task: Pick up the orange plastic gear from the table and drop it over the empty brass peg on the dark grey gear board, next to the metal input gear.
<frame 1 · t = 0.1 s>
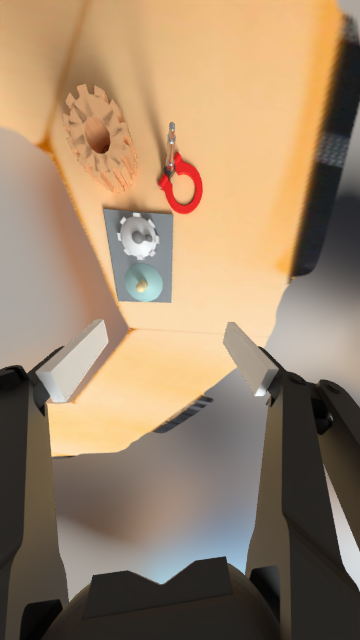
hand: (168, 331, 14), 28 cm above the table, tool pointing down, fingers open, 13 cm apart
tow hook: (182, 190, 30), on the table
gear board: (143, 262, 36), on the table
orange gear: (111, 159, 27), on the table
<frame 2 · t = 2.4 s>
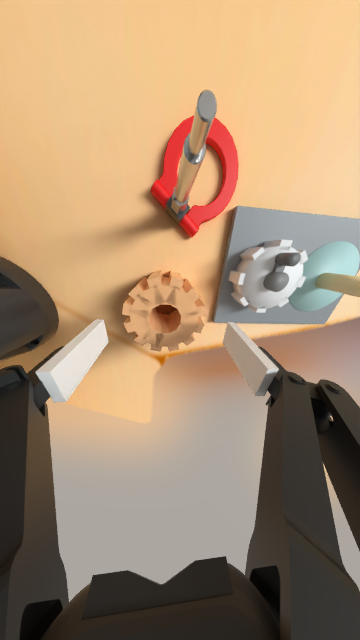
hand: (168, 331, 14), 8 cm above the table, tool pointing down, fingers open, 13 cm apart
tow hook: (196, 183, 15), on the table
gear board: (286, 277, 21), on the table
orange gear: (165, 303, 22), on the table
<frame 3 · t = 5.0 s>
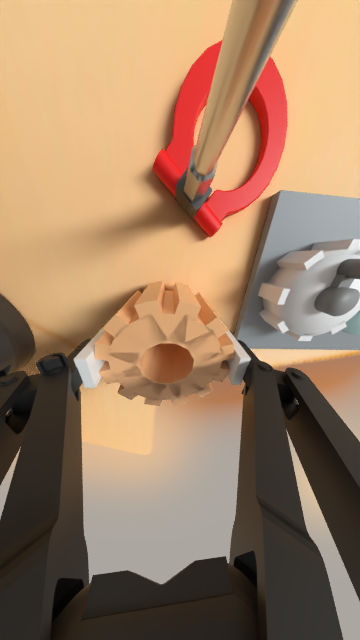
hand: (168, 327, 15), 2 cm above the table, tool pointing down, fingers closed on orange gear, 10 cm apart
tow hook: (220, 158, 11), on the table
gear board: (334, 291, 16), on the table
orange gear: (168, 326, 15), point 1 cm above the table, touching gripper
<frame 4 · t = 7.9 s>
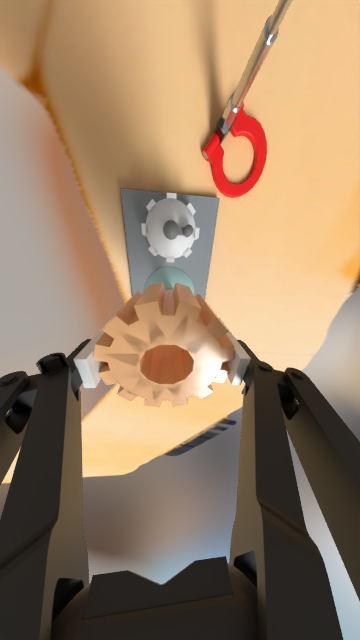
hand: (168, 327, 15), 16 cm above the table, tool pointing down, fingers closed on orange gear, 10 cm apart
tow hook: (235, 161, 21), on the table
gear board: (170, 265, 27), on the table
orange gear: (168, 326, 15), point 16 cm above the table, touching gripper
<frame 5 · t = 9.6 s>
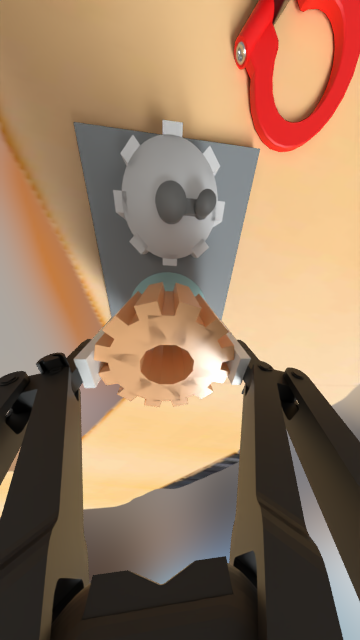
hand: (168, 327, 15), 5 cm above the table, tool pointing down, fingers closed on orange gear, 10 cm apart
tow hook: (292, 76, 11), on the table
gear board: (169, 270, 17), on the table
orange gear: (168, 327, 15), point 5 cm above the table, touching gripper
when the fingers open (3 cm above the table, at t = 10.9 s): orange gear drops 2 cm, resting on gear board.
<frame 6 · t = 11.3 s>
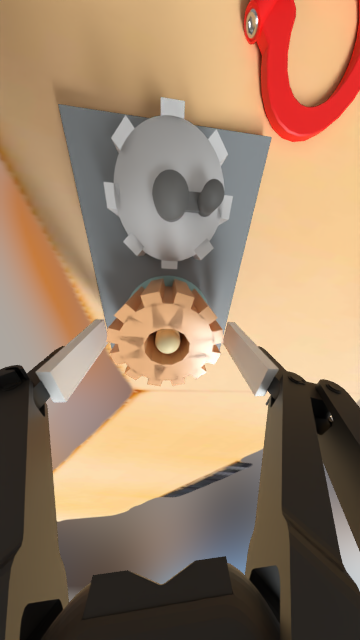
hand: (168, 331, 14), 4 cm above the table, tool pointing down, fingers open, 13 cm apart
tow hook: (309, 53, 10), on the table
gear board: (169, 273, 16), on the table
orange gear: (168, 318, 17), point 1 cm above the table, touching gear board
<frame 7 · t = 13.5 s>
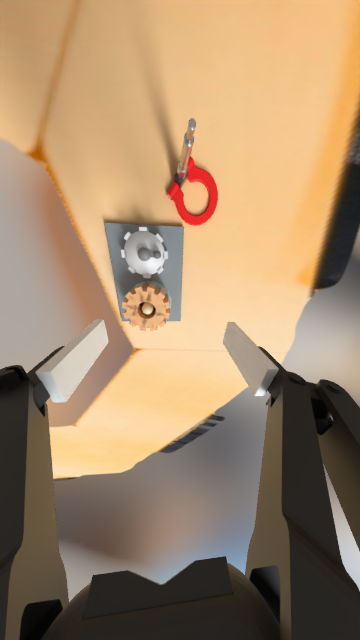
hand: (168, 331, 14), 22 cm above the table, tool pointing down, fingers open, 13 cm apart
tow hook: (194, 199, 27), on the table
gear board: (149, 279, 32), on the table
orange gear: (150, 302, 34), point 1 cm above the table, touching gear board
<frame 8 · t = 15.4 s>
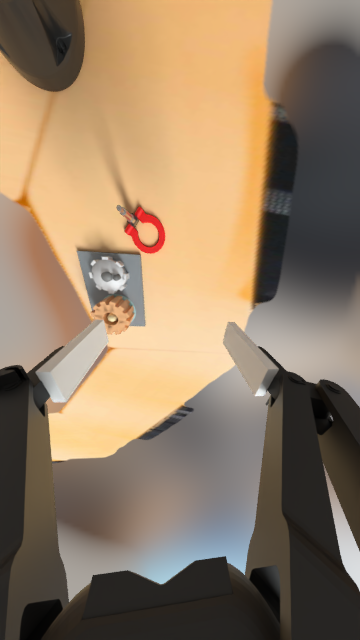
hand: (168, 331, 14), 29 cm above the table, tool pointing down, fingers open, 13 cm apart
tow hook: (147, 234, 34), on the table
gear board: (116, 293, 40), on the table
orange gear: (118, 310, 42), point 1 cm above the table, touching gear board
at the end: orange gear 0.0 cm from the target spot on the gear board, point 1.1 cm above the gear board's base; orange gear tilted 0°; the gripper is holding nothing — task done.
